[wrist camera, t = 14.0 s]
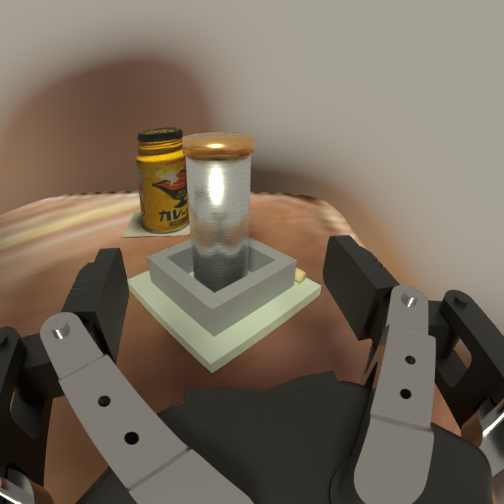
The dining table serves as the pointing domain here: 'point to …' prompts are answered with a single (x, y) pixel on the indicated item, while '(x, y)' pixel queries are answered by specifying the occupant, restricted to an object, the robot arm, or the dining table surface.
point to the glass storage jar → (219, 205)
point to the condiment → (161, 185)
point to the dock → (222, 301)
